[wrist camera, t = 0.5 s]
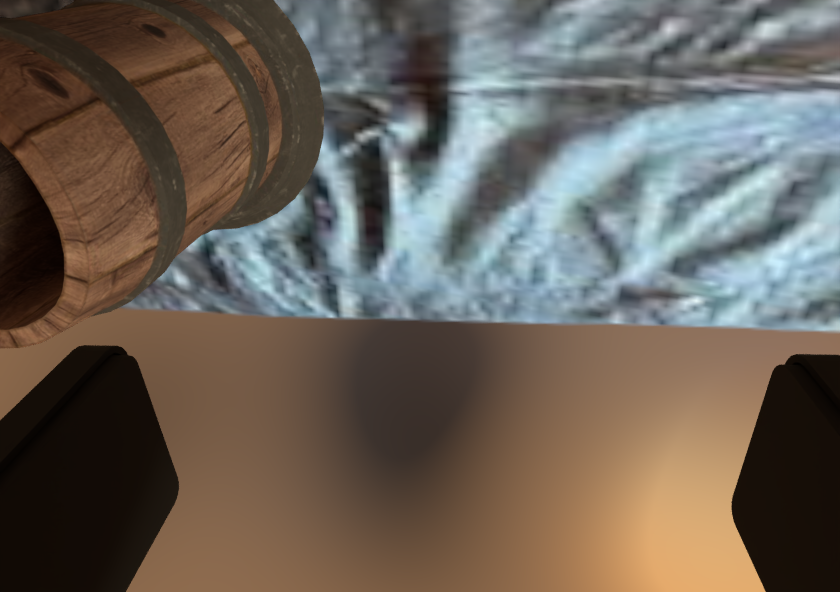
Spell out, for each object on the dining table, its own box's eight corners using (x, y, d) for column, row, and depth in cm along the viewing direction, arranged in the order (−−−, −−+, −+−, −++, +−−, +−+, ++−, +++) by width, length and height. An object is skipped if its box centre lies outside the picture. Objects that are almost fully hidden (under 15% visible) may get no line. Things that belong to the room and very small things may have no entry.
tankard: (333, 234, 40) (225, 435, 23) (99, 225, 42) (-173, 409, 24) (301, -204, 29) (38, -466, 11) (-21, -200, 30) (-703, -432, 13)
